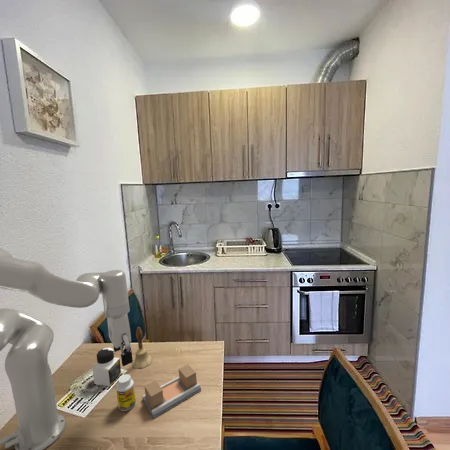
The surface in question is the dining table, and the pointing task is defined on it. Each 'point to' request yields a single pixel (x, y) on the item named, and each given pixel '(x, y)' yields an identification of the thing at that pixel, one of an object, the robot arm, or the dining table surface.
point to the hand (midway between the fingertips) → (123, 356)
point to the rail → (171, 391)
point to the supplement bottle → (125, 392)
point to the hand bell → (141, 353)
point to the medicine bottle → (106, 367)
